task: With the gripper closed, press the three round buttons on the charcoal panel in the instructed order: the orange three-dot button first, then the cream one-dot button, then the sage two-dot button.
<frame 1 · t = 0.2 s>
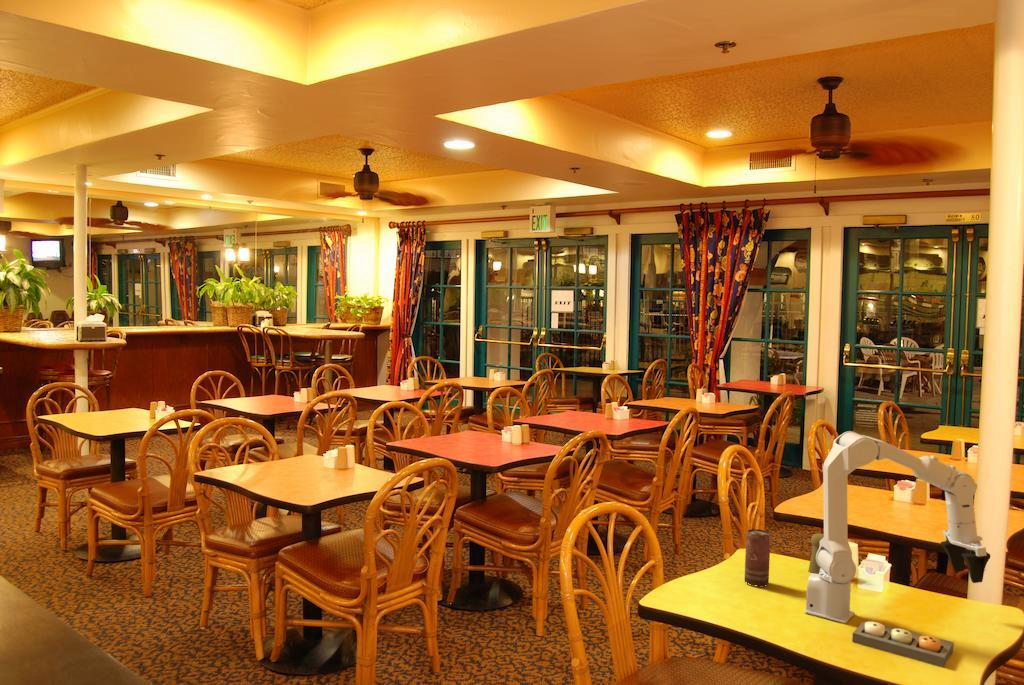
hand: (967, 576, 185), 11 cm above the table, tool pointing down, fingers open, 7 cm apart
button panel: (902, 646, 170), on the table
button two: (901, 636, 169), point 3 cm above the table, slide at 0.0 cm
button three: (929, 644, 165), point 3 cm above the table, slide at 0.0 cm
can: (756, 584, 207), on the table
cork: (819, 574, 216), on the table
button one: (874, 629, 172), point 3 cm above the table, slide at 0.0 cm
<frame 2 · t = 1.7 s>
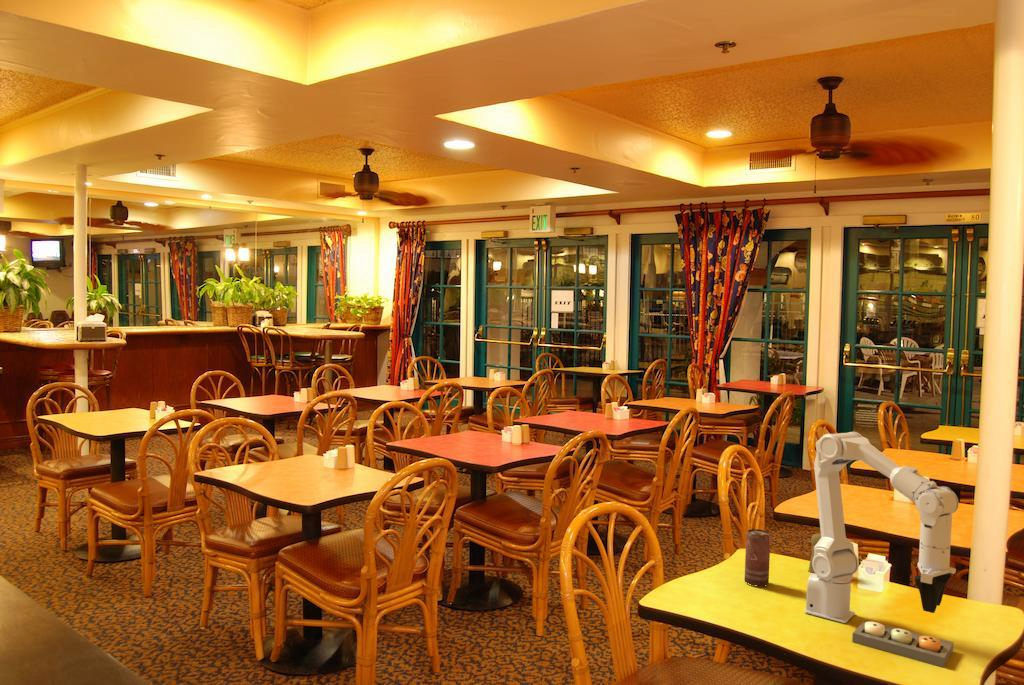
hand: (931, 607, 165), 10 cm above the table, tool pointing down, fingers open, 5 cm apart
nothing on the table moved.
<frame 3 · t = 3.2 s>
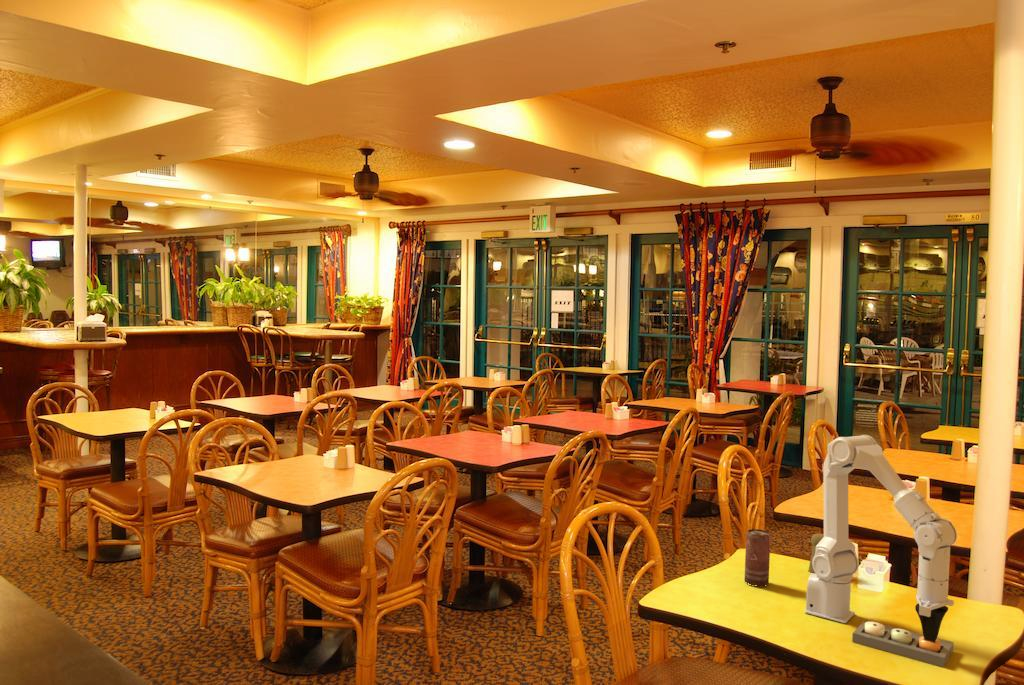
hand: (930, 639, 165), 4 cm above the table, tool pointing down, fingers closed, pressing on button three
button three: (929, 644, 165), point 2 cm above the table, slide at 0.1 cm, touching gripper
everything else where it was.
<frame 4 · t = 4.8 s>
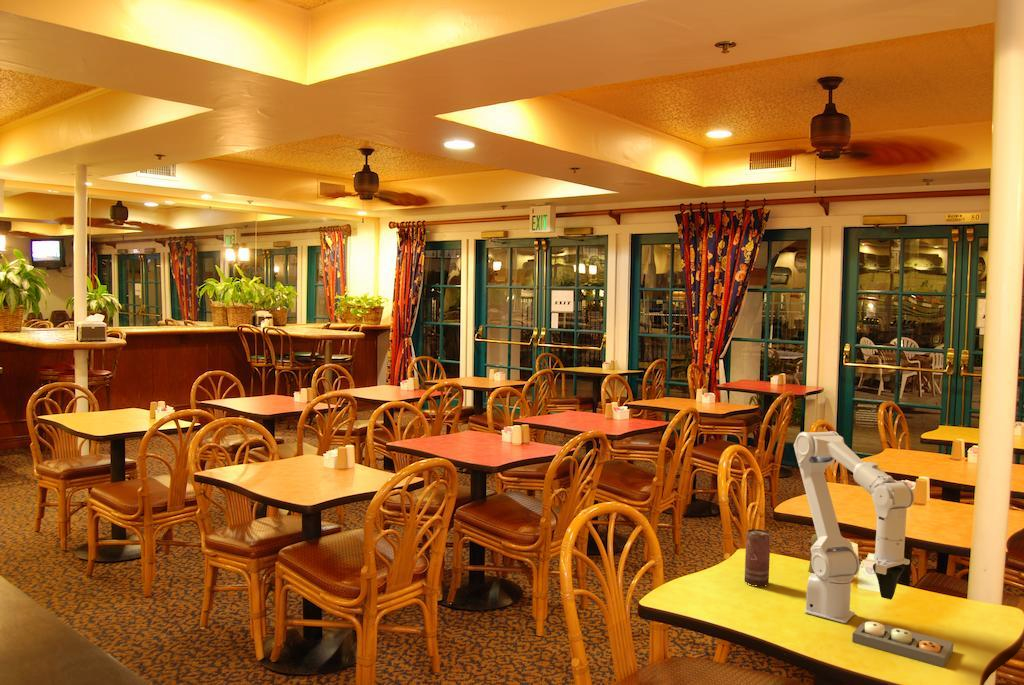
hand: (886, 597, 171), 10 cm above the table, tool pointing down, fingers closed
button three: (929, 649, 165), point 1 cm above the table, slide at 1.1 cm
everything else where it was.
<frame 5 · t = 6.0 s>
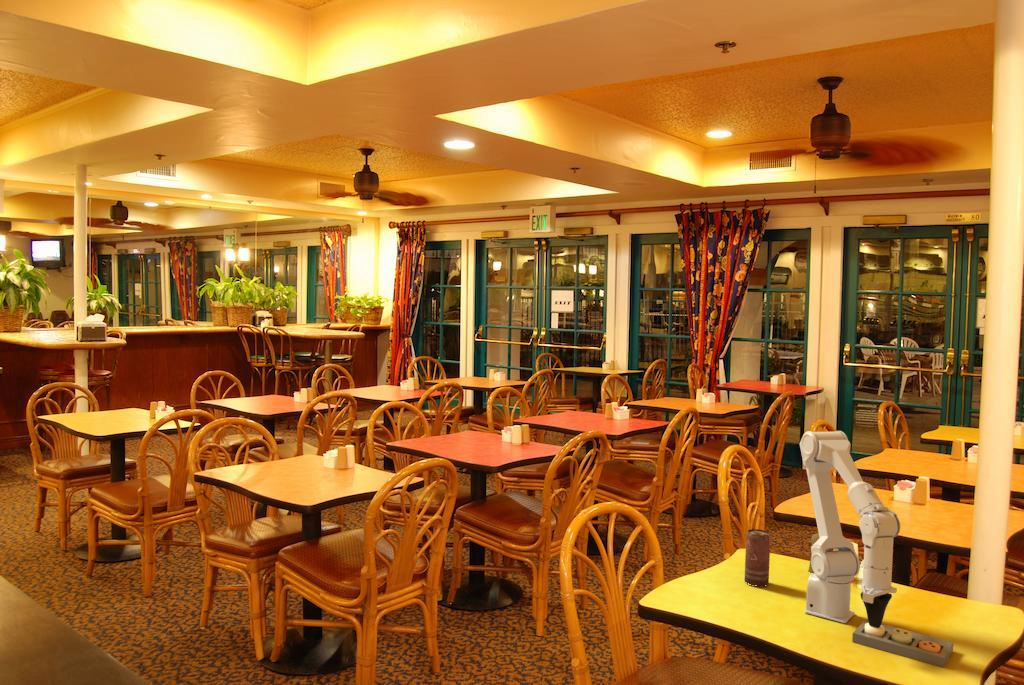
hand: (874, 625, 172), 3 cm above the table, tool pointing down, fingers closed, pressing on button one
button one: (874, 630, 172), point 2 cm above the table, slide at 0.3 cm, touching gripper
everything else where it was.
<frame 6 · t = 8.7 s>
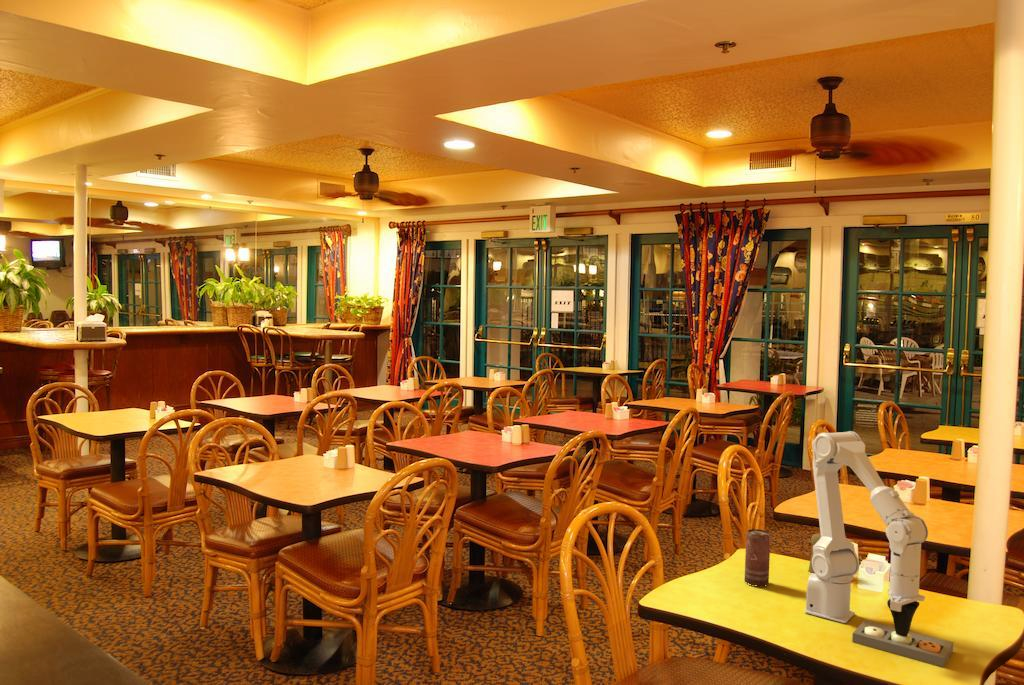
hand: (901, 634, 169), 3 cm above the table, tool pointing down, fingers closed, pressing on button two
button two: (901, 639, 169), point 2 cm above the table, slide at 0.6 cm, touching gripper
button one: (874, 634, 172), point 1 cm above the table, slide at 1.1 cm
everything else where it was.
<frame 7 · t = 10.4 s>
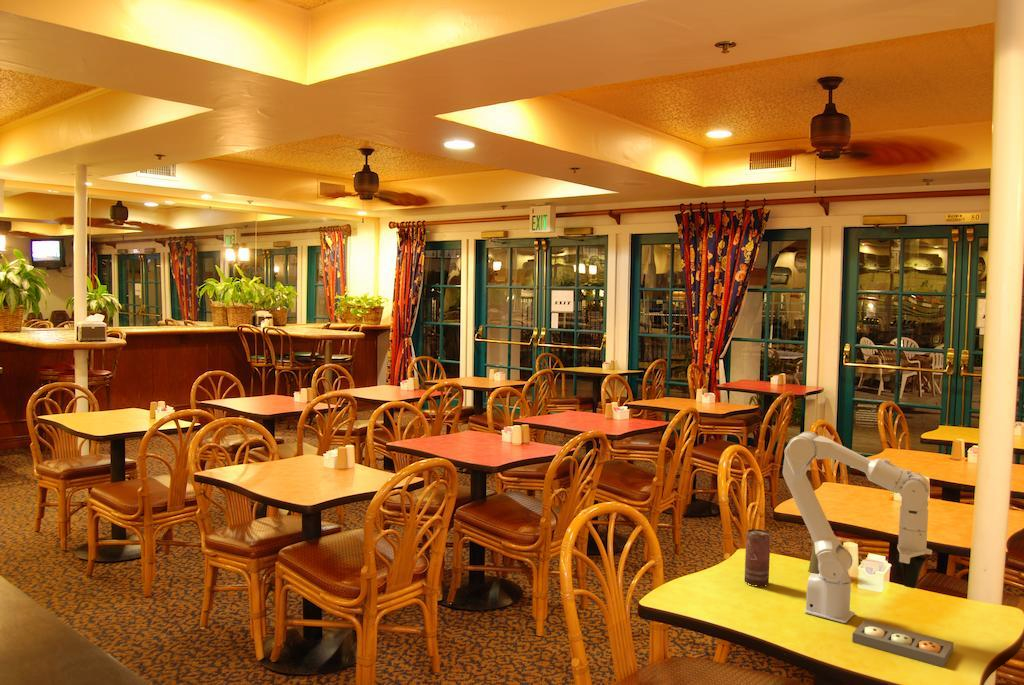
hand: (910, 586, 178), 10 cm above the table, tool pointing down, fingers closed
button two: (901, 641, 169), point 1 cm above the table, slide at 1.1 cm
everything else where it was.
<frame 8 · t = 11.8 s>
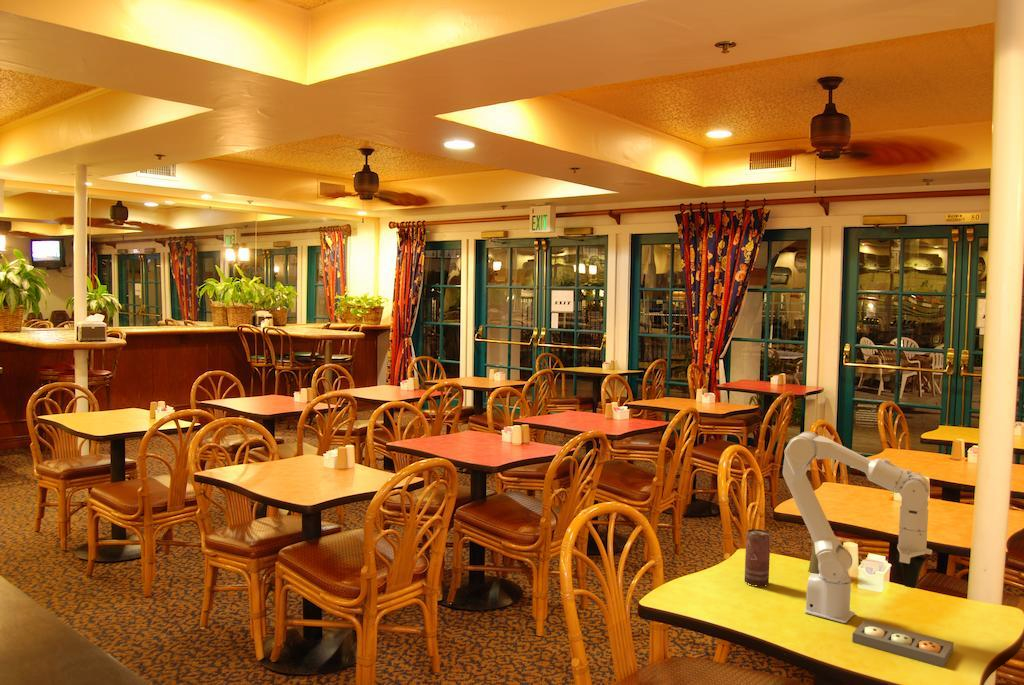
hand: (910, 586, 178), 10 cm above the table, tool pointing down, fingers closed
nothing on the table moved.
at the end: button three slide at 1.1 cm; button one slide at 1.1 cm; button two slide at 1.1 cm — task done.
